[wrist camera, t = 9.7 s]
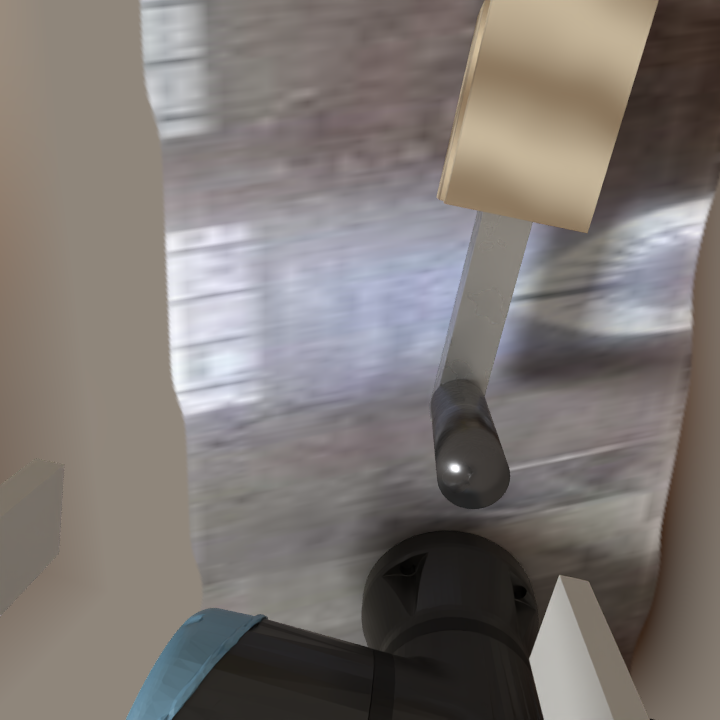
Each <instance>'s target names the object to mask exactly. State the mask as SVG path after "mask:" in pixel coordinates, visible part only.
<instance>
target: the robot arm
mask: <svg viewBox="0 0 720 720" xmlns="http://www.w3.org/2000/svg"><path fill="white" fill-rule="evenodd" d="M63 478H64V464H59V463H55V462H50V461H46V460H41V459H37V458H36V459H34V460H33V461H32V462H31V463H29V464H28V465H26V466H25V467H24V468H22V469H21V470H20V471H18V472H17V473H16V474H14V475H13V476H12V477H10V478H9V479H8V480H6V481H5V482H4V483H2V484H1V485H0V616H1V615H2V614H3V613H4V612H5V611H6V610H7V609H8V607H9V606H10V605H11V604H12V603H13V602H14V601H15V600H16V599H17V598H18V597H19V595H21V594H22V592H23V591H24V590H25V589H26V588H27V587H28V586H29V585H30V584H31V583H32V582H33V581H34V580H35V579H36V578H37V576H38V575H39V574H40V573H41V572H42V571H43V570H44V569H45V568H46V566H48V565H49V563H51V561H52V560H53V559H54V558H55V557H56V556H57V555H58V554H59V544H60V527H61V511H62V495H63V494H62V493H63ZM361 617H362V627H363V632H364V636H365V639H366V642H367V645H368V647H365V646H362V645H358V644H354V643H351V642H347V641H344V640H340V639H336V638H333V637H329V636H325V635H322V634H318V633H314V632H311V631H307V630H304V629H300V628H296V627H293V626H289V625H285V624H282V623H278V622H275V621H271V620H268V617H267V616H265V615H261V614H260V615H256V616H251V615H247V614H242V613H237V612H233V611H228V610H224V609H219V608H209V609H205V610H202V611H200V612H198V613H196V614H194V615H193V616H191V617H190V618H189V619H188V620H187V621H186V622H185V623H184V624H183V625H182V626H181V627H180V628H179V630H177V632H176V633H175V634H174V636H173V637H172V638H171V640H170V641H169V642H168V644H167V645H166V647H165V648H164V650H163V652H162V653H161V655H160V656H159V658H158V660H157V661H156V663H155V665H154V666H153V668H152V670H151V671H150V673H149V675H148V677H147V679H146V680H145V682H144V684H143V686H142V688H141V690H140V692H139V694H138V696H137V698H136V700H135V702H134V704H133V706H132V708H131V710H130V712H129V714H128V716H127V718H126V720H653V719H649V717H648V714H647V712H646V710H645V708H644V705H643V703H642V701H641V699H640V696H639V694H638V692H637V690H636V687H635V685H634V683H633V680H632V678H631V676H630V674H629V671H628V669H627V667H626V665H625V662H624V660H623V658H622V656H621V653H620V651H619V649H618V646H617V644H616V642H615V640H614V637H613V635H612V633H611V631H610V628H609V626H608V624H607V622H606V619H605V617H604V615H603V613H602V610H601V608H600V606H599V603H598V601H597V599H596V597H595V594H594V592H593V590H592V588H591V585H590V583H589V581H586V580H581V579H577V578H572V577H568V576H563V575H559V577H558V580H557V583H556V585H555V588H554V591H553V594H552V597H551V599H550V602H549V605H548V608H547V611H546V613H545V616H544V619H543V622H542V625H541V627H540V630H539V633H538V636H537V632H538V609H537V604H536V600H535V597H534V593H533V590H532V587H531V584H530V581H529V579H528V577H527V575H526V573H525V571H524V570H523V568H522V567H521V565H520V564H519V563H518V562H517V561H516V559H515V558H514V557H513V556H512V555H510V554H509V553H508V552H507V551H506V550H504V549H503V548H501V547H500V546H498V545H497V544H495V543H493V542H491V541H489V540H487V539H484V538H482V537H479V536H476V535H472V534H468V533H463V532H455V531H439V532H431V533H425V534H421V535H418V536H415V537H412V538H409V539H407V540H405V541H403V542H401V543H399V544H397V545H396V546H394V547H393V548H391V549H390V550H389V551H388V552H386V553H385V554H384V555H383V556H382V557H381V558H380V559H379V561H378V562H377V563H376V564H375V566H374V567H373V569H372V570H371V572H370V574H369V576H368V578H367V581H366V584H365V588H364V593H363V603H362V616H361ZM536 638H537V639H536ZM531 669H532V672H531ZM532 673H533V676H532ZM533 677H534V680H533ZM534 681H535V684H534ZM535 685H536V687H535ZM536 689H537V691H536ZM537 693H538V695H537ZM538 697H539V699H538ZM539 701H540V703H539ZM540 705H541V707H540ZM541 709H542V711H541ZM542 713H543V714H542ZM543 717H544V718H543Z"/></svg>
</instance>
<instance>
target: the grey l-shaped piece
mask: <svg viewBox="0 0 720 720" xmlns="http://www.w3.org/2000/svg"><path fill="white" fill-rule="evenodd" d="M532 223H533V222H531V221H526V220H521V219H516V218H512V217H507V216H502V215H497V214H492V213H487V212H483V211H477V215H476V219H475V223H474V227H473V231H472V235H471V239H470V243H469V247H468V251H467V255H466V259H465V263H464V267H463V271H462V275H461V279H460V283H459V287H458V291H457V295H456V299H455V303H454V307H453V311H452V315H451V319H450V323H449V327H448V331H447V336H446V340H445V344H444V348H443V352H442V356H441V360H440V364H439V368H438V372H437V376H436V380H435V384H434V388H433V392H432V396H431V400H430V404H429V409H430V421H431V422H432V428H433V439H434V449H435V460H436V471H437V482H438V486H439V488H440V490H441V492H442V494H443V495H444V496H445V497H446V498H447V499H448V500H449V501H450V502H452V503H453V504H455V505H457V506H459V507H463V508H468V509H479V508H484V507H487V506H489V505H492V504H493V503H495V502H496V501H498V500H499V499H500V498H501V497H502V496H503V495H504V493H505V492H506V490H507V488H508V485H509V481H510V470H509V467H508V464H507V461H506V458H505V455H504V452H503V449H502V446H501V443H500V440H499V437H498V434H497V432H496V429H495V426H494V423H493V420H492V417H491V414H490V411H489V408H488V405H487V402H486V399H485V397H484V396H485V392H486V389H487V385H488V382H489V378H490V374H491V371H492V367H493V364H494V360H495V356H496V353H497V349H498V345H499V342H500V338H501V335H502V331H503V327H504V324H505V320H506V317H507V313H508V309H509V306H510V302H511V299H512V295H513V291H514V288H515V284H516V280H517V277H518V273H519V270H520V266H521V262H522V259H523V255H524V252H525V248H526V244H527V241H528V237H529V234H530V230H531V226H532Z"/></svg>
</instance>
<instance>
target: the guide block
mask: <svg viewBox="0 0 720 720" xmlns="http://www.w3.org/2000/svg"><path fill="white" fill-rule="evenodd" d="M658 1H659V0H485V1H484V3H483V5H482V8H481V10H480V13H479V15H478V18H477V22H476V27H475V31H474V35H473V40H472V44H471V49H470V53H469V57H468V62H467V66H466V71H465V75H464V79H463V84H462V88H461V92H460V97H459V101H458V106H457V110H456V114H455V119H454V123H453V128H452V132H451V136H450V141H449V145H448V150H447V154H446V158H445V163H444V167H443V171H442V176H441V180H440V185H439V189H438V193H437V198H438V199H439V200H442V201H444V203H445V204H449V205H454V206H459V207H463V208H468V209H473V210H478V211H483V212H487V213H492V214H497V215H502V216H507V217H512V218H516V219H521V220H526V221H531V222H536V223H540V224H545V225H550V226H555V227H560V228H564V229H569V230H574V231H579V232H584V233H588V230H589V227H590V224H591V220H592V217H593V214H594V210H595V207H596V204H597V201H598V197H599V194H600V191H601V188H602V184H603V181H604V178H605V174H606V171H607V168H608V165H609V161H610V158H611V155H612V151H613V148H614V145H615V142H616V138H617V135H618V132H619V129H620V125H621V122H622V119H623V115H624V112H625V109H626V106H627V102H628V99H629V96H630V92H631V89H632V86H633V83H634V79H635V76H636V73H637V70H638V66H639V63H640V60H641V56H642V53H643V50H644V47H645V43H646V40H647V37H648V34H649V30H650V27H651V24H652V20H653V17H654V14H655V11H656V7H657V4H658Z"/></svg>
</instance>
